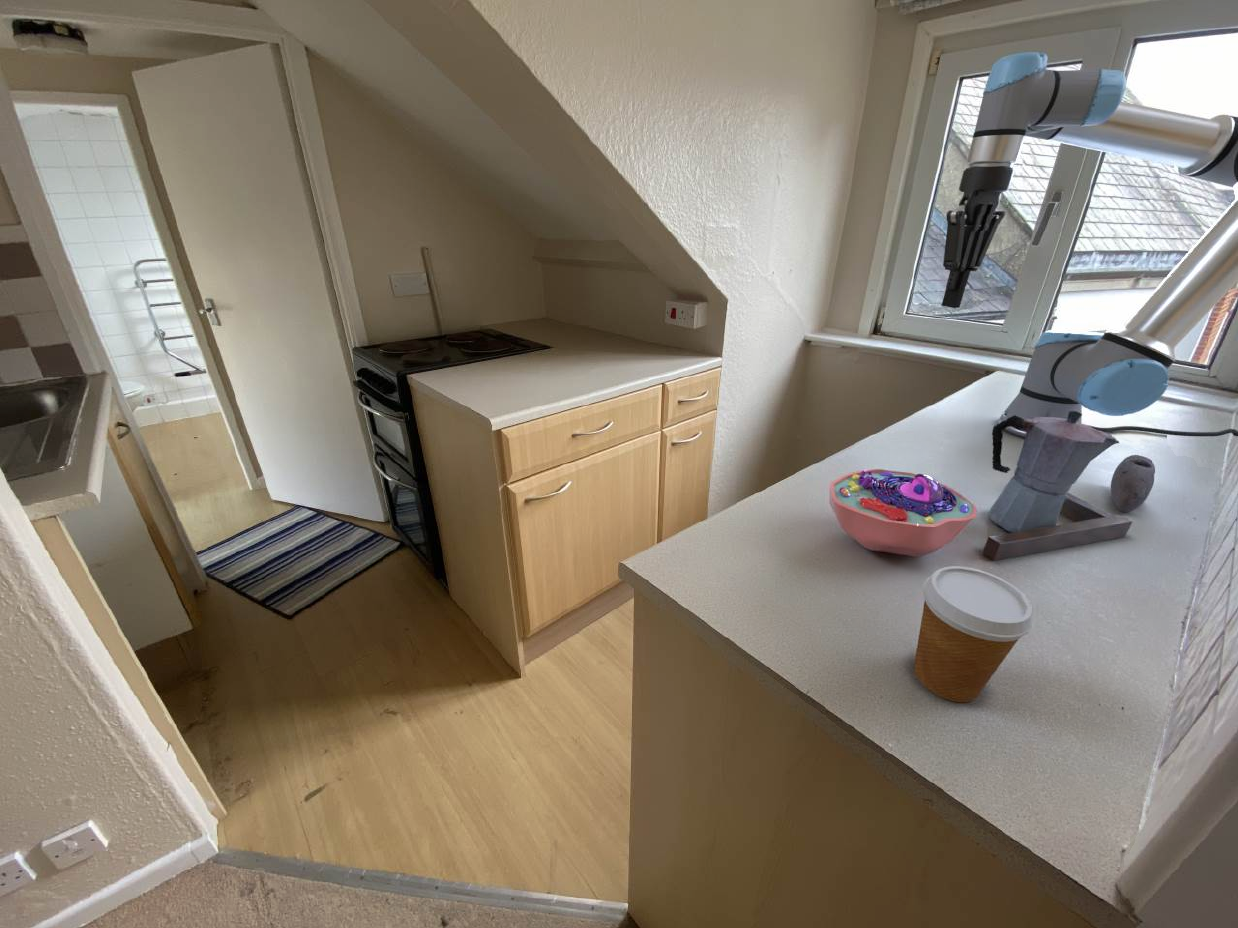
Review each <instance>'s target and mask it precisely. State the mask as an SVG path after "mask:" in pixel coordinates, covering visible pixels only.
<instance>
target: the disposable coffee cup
mask: <svg viewBox="0 0 1238 928" xmlns="http://www.w3.org/2000/svg"><path fill="white" fill-rule="evenodd" d="M922 593H923V599H924V602H923V607H922V615H921V621H920V627H919V633H918V639H917V645H916V652H915V659H914V664H913V671H914V674H915V676H916V678H917V680H918V681H919V682H920V684H922V686H924V687H925V688H926V689H927V690H928V691H930V692H931V693H933V694H934V695H936V696H937V697H940V698H942V699H944V700H948V701H950V702H955V703H970V702H972V701H974V700H976V699H977V698H978V697H979V694H980V693H981V692H982V691H983V689H984V688H985V686H986V685H987V684H988V683H989V681H990V680H991V678H993V676H994V674H995V673H996V671H997V670H998V669H999V667H1001V664H1002V663H1003V662H1004V660H1005V659H1006V657H1007V656H1008V655H1009V654H1010V652H1011V650H1012V649H1013V647H1014V646H1015V645H1016V643H1017V642H1018V641H1019V640H1020V639H1021V638H1022V637H1024V636H1026V635H1028V634H1029V633H1030V632H1031V630H1032V629H1033V628H1034V617H1033V606H1032V604H1031V602H1030V600H1029V599H1028V597H1027V596H1026V595H1025V594H1024V593H1023V592H1022V591H1021V590H1019V588H1018V587H1016V586H1015V585H1013V584H1012V583H1010V582H1008V581H1006V580H1005V579H1003V578H1001V577H999V576H998V575H994V574H993V573H990V572H987V571H983V570H981V569H977V568H973V567H969V566H968V567H967V566H956V565H952V566H944V567H942V568H939V569H936V570H935V572H934V573H933V574H932V575H931V576H929V577H928V578H926V579H925V581H924V582H923V585H922Z"/></svg>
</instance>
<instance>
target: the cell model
mask: <svg viewBox="0 0 1238 928" xmlns="http://www.w3.org/2000/svg"><path fill="white" fill-rule="evenodd" d="M828 501H829V505H830V508H831V509H832V512H833V513H834V515H835V517H836V519H837V522H838V524H839V527H840V528H841V529H842V530H843V531H844V532H845V533H846V534H847V535H849V536H850V537H851V538H852V539H854V540H855V541H856V542H857V543H858V544H859V545H860V546H861V547H863V548H864V549H867V550H869V551H875V552H883V553H890V554H894V555H901V556H908V557H922V556H925V555H929V554H931V553H934V552H936V551H938V550H940V549H942V548H943V547H945V546H946V545H948V544H950V543H951V542H953V541H954V540H955V539H956V538H957V537H958V536H959V535H960V534H961V533H962V531H963V530H965V528H966V527H967V526H968V525H969V524H970V523H971V522H972V521H973V520H974V518H976V516H977V514H978V509H977V507H976V506H975V504H974V503H973V502H972V501H971V500H970V499H968V498H967V497H965V496H964V495H963V494H962V493H960V492H958V491H957V490H956V489H954V488H952V487H950V486H948V485H945V484H943V483H940V482H939V481H938V480H937V479H936V478H935V477H933V476H930V475H928V474H924V473H917V474H916V473H913V472H906V471H896V470H888V469H882V468H871V469H862V470H857V471H853V472H849V473H847V474H845V475H842V476H841V477H839V478H836V479H834V480H833V481H832V482H830V484H829V494H828Z"/></svg>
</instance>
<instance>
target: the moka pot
mask: <svg viewBox="0 0 1238 928" xmlns="http://www.w3.org/2000/svg"><path fill="white" fill-rule="evenodd" d="M1081 416H1083V413H1082V414H1081V413H1080V412H1077V411H1069V414H1068V418H1067V420H1066V419H1062V418H1053V417H1035V418H1034V419H1028V418H1021V417H1018V416H1016V415H1013V416H1012V417H1010V418H1008V419H1007V420H1006V421H1005V420H1004V421H1002V422H1001V423H1000V424H996V425H994V426H993V427H992V433H991V435H992V443H991V444H992V459H991V460H992V461H991V462H992V470H994V471H998V472H1001V473H1003V474H1004V473H1005V474H1008V473H1009V472H1010V471H1011V470H1012V469H1011V468H1010V467H1009V466H1004V465H1003V464H1002V460H1001V455H1002V449H1003V446H1002V445H1003V437H1004V433H1003V431H1005V430H1004V429H1005V428H1007V427H1010V426H1012V427H1014V428H1016V429H1017V430H1020V431H1025V432H1026V436H1025V438H1024V439H1023V442H1022V448H1021V450H1020V453H1019V457H1018V460H1017V462H1016V468H1015V470H1014V473H1013V476H1012V477H1011V478H1010V480H1009V481H1008V483H1007V484H1006V485H1005V487H1004V489H1002V491H1001V493H1000V495H999V496H998V497H997V499H996V500H995V502H994V503H993V504H992V506H991V507H990V510H989V512H988V516H987V517H988V518H989V520H991V522H993V523H994V524H995V525H997V526H998V527H1001V528H1002V529H1003V530H1005V531H1007V532H1008V533H1013V532H1019V531H1025V530H1031V529H1037V528H1043V527H1049V526H1055V525H1057V523H1058V520H1059V516H1060V514H1061V513H1060V511H1061V508H1062V505H1063V503H1064V502H1065V501H1067V499H1068V497H1067V496H1066V492H1067V493H1069V491H1070V490H1071V488H1072V486H1073V485H1074V484H1075V483H1076V482H1077V481H1078V479H1079V478H1080V477H1081V475H1082V474H1083V472H1084V471H1085V470H1086V468H1087V467H1088V465H1089V464H1090V463H1091V462H1092V461H1093V460H1094V459H1096V458H1097V457H1098V456H1100V455H1101V454H1102V453H1104V452H1105V451H1107V450H1108V449H1109V448H1110V447H1113V445H1114V446H1115V445H1116V444H1120V441H1119V440H1117V438H1116V437H1115V436H1113V435H1112V434H1110V433H1109V432H1102V431H1098V430H1095V429H1094V428H1092V427H1090V426H1091V425H1089V426H1088V424H1085V423H1077V421H1078V420H1079V418H1080V417H1081Z"/></svg>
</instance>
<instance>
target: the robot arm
mask: <svg viewBox="0 0 1238 928" xmlns="http://www.w3.org/2000/svg"><path fill="white" fill-rule="evenodd" d="M1048 58H1049V57H1048V55H1047V54H1046V53H1043V52H1037V51H1033V52H1021V53H1015V54H1009V55H1006V56H1003V57H1001V58H999V59H998V60H996V61H995V62H994V63H993V65H992V67H991V70H990V72H989V74H988V77H987V80H986V84H985V87H984V90H983V92H982V95H983V96H982V99H981V102H980V106H979V111H978V115H977V118H976V119H977V120H976V124H975V127H974V132H973V135H972V139H971V143H970V146H969V150H968V153H967V158H966V161H965V164H966V165H967V166H968V167H966V168H965V169H964V170H963V172H962V176H961V179H960V184H959V187H958V190H959V192H961V193H963V194H962V197H961V199H960V201H959V203H958V207H956V208H955V209H954V210H948V211H947V212H946V223H947V227H946V236H945V245H944V246H945V247H944V253H943V261H942V262H943V264H942V266H943V267H944V270H946V271H949V274H948V278H947V282H946V284H945V291H944V295H943V298H942V302H941V307H945V308H946V307H947V308H951V309H957V308H958V309H959V308H960V307H961V304H962V301H963V297H964V293H965V290H966V287H967V284H968V281H969V278H970V275H971V272H977V271H978V270H979V267H980V266H981V265H982V263H983V261H984V259H985V256H986V255H987V252H988V250H989V247H990V245H991V243H992V240H993V238H994V236H995V234H996V232H997V230H998V227H999V225H1000V224H1001V222H1002V221H1003V220H1004V218H1005V216H1006V211H1005V210H999V209H1000V208H998V207H999V205H1000V196H1001V194H1002V193H1005V192H1007V191H1008V190H1009V189H1010V186H1011V184H1012V181H1013V176H1014V173H1015V169H1014V168H1015V167H1013V165H1015V164H1017V163H1018V161H1019V158H1020V154H1021V151H1022V147H1023V144H1024V140H1025V137H1030V138H1033V139H1039V140H1044V141H1045V140H1046V141H1051V142H1055V143H1061V144H1065V145H1070V146H1075V147H1079V148H1084V149H1088V150H1093V151H1100V152H1103V153H1108V154H1113V155H1117V156H1123V157H1127V158H1133V159H1137V160H1141V161H1146V162H1152V163H1156V164H1161V165H1165V166H1171V167H1174V170H1175V172H1176V173H1177V174H1178V175H1181V176H1185V177H1190V178H1194V179H1198V180H1202V181H1207V182H1210V183H1213V184H1217V185H1222V186H1225V187H1229V188H1233V191H1234V195H1235V199H1234V201H1233V202H1232V203H1231V205H1229V206H1228V208H1227V209H1226V210H1224V212H1223V213H1222V214H1221V215H1220V217H1218V219H1217V220H1216V221H1215V222H1214V223H1213V224H1212V225H1211V226H1210V228H1209V229H1208V230H1207V231H1206V232H1205V233H1204V235H1202V236H1201V238H1200V239H1199V240H1198V241H1197V242H1196V243H1195V245H1193V247H1192V248H1191V249H1190V250H1188V252H1187V253H1186V254H1185V256H1184V257H1183V258H1182V259H1181V260H1180V261H1179V263H1178V264H1177V265H1175V267H1174V268H1173V269H1172V270H1171V271H1170V272H1169V274H1168V275H1167V276H1166V277H1165V278H1164V279H1163V280H1162V282H1161V283H1160V284H1159V285H1157V287H1156V288H1155V289H1154V290H1153V292H1152V293H1151V294H1150V295H1149V296H1148V297H1147V298H1146V300H1145V301H1144V302H1143V303H1142V304H1141V305H1140V306H1139V307H1138V308H1137V310H1135V312H1134V313H1133V314H1132V315H1131V316H1130V317H1129V319H1128V320H1127V321H1126V322H1125V323H1124V324H1123V325H1122V326H1120V327H1118V328H1114V329H1110V330H1106V332H1104V333H1103V332H1092V331H1091V332H1090V331H1079V330H1078V331H1077V330H1076V331H1075V330H1059V329H1058V330H1055V329H1054V330H1053V329H1052V330H1046V331H1044V332H1042V333H1041V334H1040V336H1039V338H1038V340H1037V342H1036V344H1035V345H1034V350H1033V354H1032V356H1031V359H1030V362H1029V364H1028V367H1027V369H1026V372H1025V376H1024V378H1023V381H1022V383H1021V386H1020V389H1019V392H1018V394H1017V395H1016V396H1015V397H1014V398H1013V400H1012V401H1011V403H1010V404H1009V405H1008V406H1007V407H1006V408H1005V410H1004V411H1003V412H1002V413H1001V415H1000V416H999V420H998V424H1000V423H1001V422H1002V421H1004V420H1005V421H1006V420H1007V419H1008V418H1010V417H1012V416H1013V415H1016V416H1018V417H1021V418H1028V419H1034V418H1035V417H1053V418H1062V419H1066V420H1067V418H1068V414H1069V411H1077V412H1080V413H1081V414H1082V416H1083V412H1082V411H1083V409H1082V407H1083V408H1086V409H1088V410H1089V411H1092V412H1096V413H1098V414H1101V415H1104V416H1108V417H1122V416H1126V415H1133V414H1136V413H1139V412H1141V411H1143V410H1145V409H1147V408H1149V407H1151V406H1152V405H1153V404H1155V403H1156V402H1157V401H1159V400H1160V399H1161V398H1162V396H1163V395H1164V394H1165V392H1166V391H1167V389H1168V387H1169V383H1168V381H1169V380H1170V373H1169V372H1168V369H1169V368H1170V367H1171V366H1172V365H1173V364H1174V363H1175V362H1176V359H1177V358H1176V355H1175V348H1176V347H1177V346H1178V344H1180V342H1181V341H1182V340H1183V339H1184V338H1185V337H1186V336H1187V335H1188V334H1189V333H1190V332H1191V331H1192V330H1193V329H1194V328H1195V327H1196V326H1197V325H1198V324H1199V322H1201V321H1202V319H1204V318H1205V316H1207V314H1208V313H1209V312H1210V311H1211V310H1212V309H1213V308H1214V307H1215V306H1216V305H1217V304H1218V303H1220V301H1221V300H1222V299H1223V298H1224V296H1225V295H1227V294H1228V292H1229V291H1230V290H1231V289H1232V288H1233V287H1234V286H1235V285H1236V284H1238V116H1234V115H1229V114H1219V115H1216V116H1213V117H1211V118H1205V117H1201V116H1195V115H1191V114H1186V113H1181V112H1176V111H1170V110H1166V109H1161V108H1156V107H1152V106H1151V107H1150V106H1145V105H1141V104H1136V103H1130V102H1126V101H1122V100H1123V98H1124V95H1125V91H1126V88H1127V77H1126V74H1125V73H1124V72H1123V71H1121V70H1119V69H1104V68H1103V67H1102V68H1101V67H1100V68H1099V69H1072V70H1069V69H1068V70H1052V69H1047V68H1048ZM1082 416H1081V417H1080V418H1079V420H1078V421H1077V423H1081V424H1083V423H1082V422H1083V420H1082V418H1083V417H1082ZM998 424H997V425H998ZM1087 425H1088V424H1087ZM1088 426H1090V427H1092V428H1094V429H1095V430H1098V431H1102V432H1105V433H1112V432H1120V431H1121V432H1123V431H1136V432H1145V433H1152V434H1160V435H1167V436H1168V435H1169V436H1178V437H1179V436H1180V437H1220V436H1224V435H1227V434H1232V436H1234V437H1238V430H1237V429H1236V428H1226V429H1223V430H1220V431H1182V430H1181V431H1180V430H1170V429H1161V428H1156V427H1155V428H1153V427H1147V426H1136V425H1121V426H1113V427H1098V426H1094V425H1088ZM1003 431H1005V432H1008V433H1009V434H1013V435H1015V436H1018V437H1021V438H1023V439H1025V436H1026V432H1025V431H1020V430H1017V429H1016V428H1014V427H1012V426H1010V427H1007V428H1005V429H1004V430H1003Z"/></svg>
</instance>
